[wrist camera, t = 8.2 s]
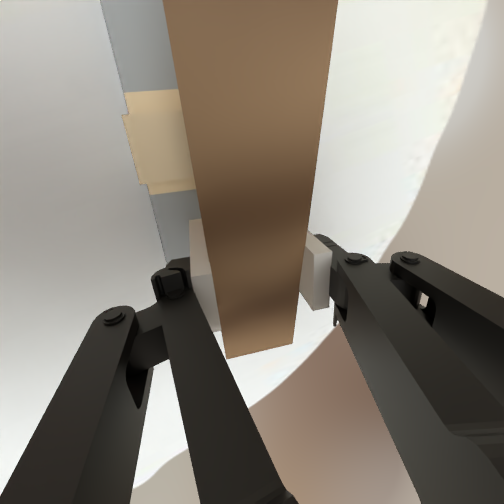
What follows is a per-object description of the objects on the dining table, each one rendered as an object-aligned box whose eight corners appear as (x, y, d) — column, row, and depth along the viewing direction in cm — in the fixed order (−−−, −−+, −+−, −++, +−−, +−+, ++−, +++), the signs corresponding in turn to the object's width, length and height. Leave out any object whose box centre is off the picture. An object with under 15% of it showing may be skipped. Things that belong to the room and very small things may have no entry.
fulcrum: (95, -34, 14) (37, -136, 8) (280, -33, 15) (333, -118, 10) (168, 257, 21) (162, 303, 16) (286, 237, 23) (318, 272, 18)
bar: (112, -279, 6) (29, -746, 2) (280, -256, 7) (417, -594, 3) (215, 294, 19) (226, 359, 15) (268, 283, 20) (292, 343, 16)
